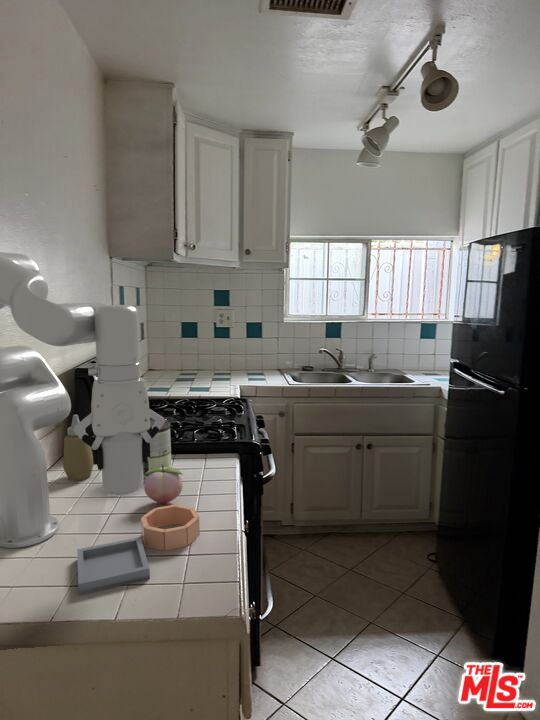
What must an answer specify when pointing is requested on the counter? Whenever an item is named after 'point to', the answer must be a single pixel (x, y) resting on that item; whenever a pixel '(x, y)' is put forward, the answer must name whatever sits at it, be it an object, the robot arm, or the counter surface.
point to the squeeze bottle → (76, 455)
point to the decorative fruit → (163, 484)
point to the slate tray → (111, 565)
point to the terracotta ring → (172, 536)
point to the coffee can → (159, 449)
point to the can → (122, 463)
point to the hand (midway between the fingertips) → (122, 463)
